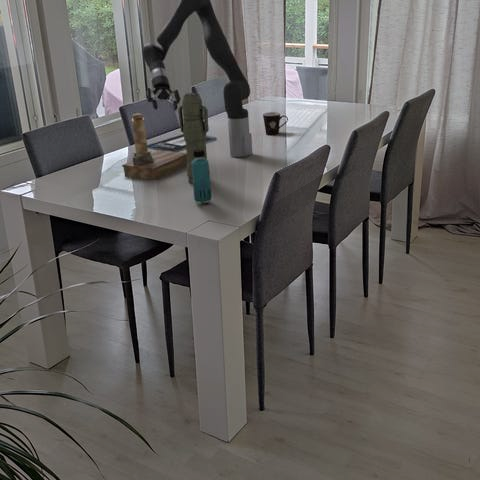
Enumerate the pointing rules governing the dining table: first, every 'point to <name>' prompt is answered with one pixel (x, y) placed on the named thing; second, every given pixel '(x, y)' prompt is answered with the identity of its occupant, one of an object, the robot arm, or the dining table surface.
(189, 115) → the thermos
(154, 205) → the dining table surface
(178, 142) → the sketchbook
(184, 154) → the board with square socket
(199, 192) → the beverage bottle
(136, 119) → the wooden square peg
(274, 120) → the coffee mug
